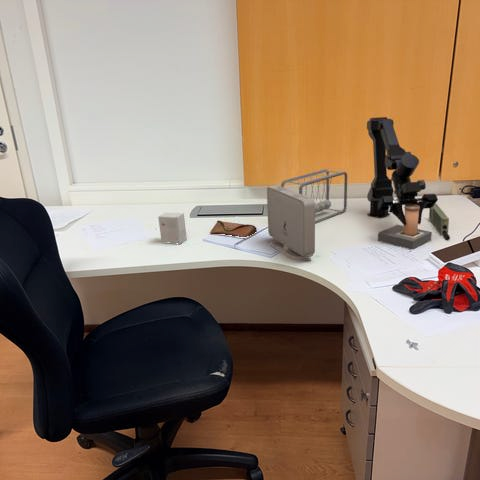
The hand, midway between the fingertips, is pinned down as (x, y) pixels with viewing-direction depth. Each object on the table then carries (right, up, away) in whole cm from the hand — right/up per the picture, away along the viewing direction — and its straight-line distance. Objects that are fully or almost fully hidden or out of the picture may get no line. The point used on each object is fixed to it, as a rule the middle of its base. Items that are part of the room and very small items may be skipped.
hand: (412, 224), depth 148 cm
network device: (-40, -9, +4) cm, 41 cm away
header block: (-1, -5, +6) cm, 8 cm away
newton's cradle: (-26, +4, +37) cm, 45 cm away
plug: (0, -6, +4) cm, 7 cm away
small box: (-82, -6, +19) cm, 84 cm away
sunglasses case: (-61, -3, +24) cm, 65 cm away
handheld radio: (+16, -2, +16) cm, 22 cm away
